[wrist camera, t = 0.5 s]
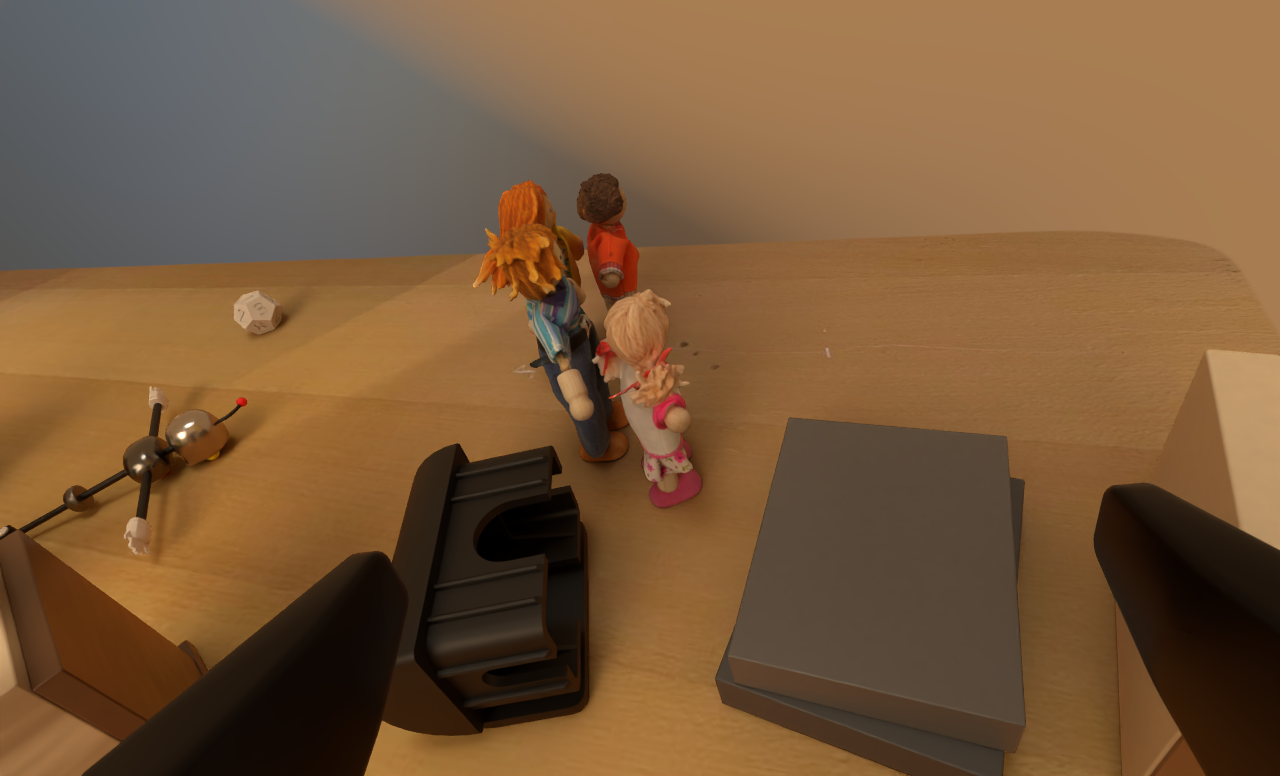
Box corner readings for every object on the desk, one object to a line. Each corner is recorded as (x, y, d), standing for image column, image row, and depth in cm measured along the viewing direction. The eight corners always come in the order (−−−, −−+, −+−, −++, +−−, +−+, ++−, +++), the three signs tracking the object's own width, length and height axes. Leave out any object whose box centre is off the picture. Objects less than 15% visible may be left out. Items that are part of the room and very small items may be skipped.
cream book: (1272, 863, 18) (1519, 693, 11) (1122, 809, 19) (1261, 632, 13) (1226, 584, 24) (1371, 361, 17) (1113, 559, 25) (1205, 347, 18)
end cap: (451, 544, 33) (391, 454, 29) (587, 518, 32) (546, 421, 28) (413, 755, 25) (322, 675, 21) (590, 725, 25) (533, 635, 20)
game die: (244, 329, 57) (222, 301, 55) (285, 309, 58) (266, 281, 56) (250, 345, 54) (228, 315, 52) (293, 324, 56) (273, 294, 54)
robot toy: (154, 571, 36) (110, 533, 34) (4, 551, 40) (-44, 516, 38) (301, 408, 46) (274, 370, 43) (167, 406, 50) (136, 372, 48)
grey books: (1002, 811, 20) (1023, 762, 17) (709, 698, 24) (693, 646, 22) (1024, 505, 28) (1042, 440, 25) (799, 462, 32) (794, 403, 30)
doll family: (729, 528, 30) (680, 289, 22) (531, 583, 30) (406, 366, 22) (647, 298, 46) (601, 113, 38) (519, 334, 46) (445, 156, 38)
